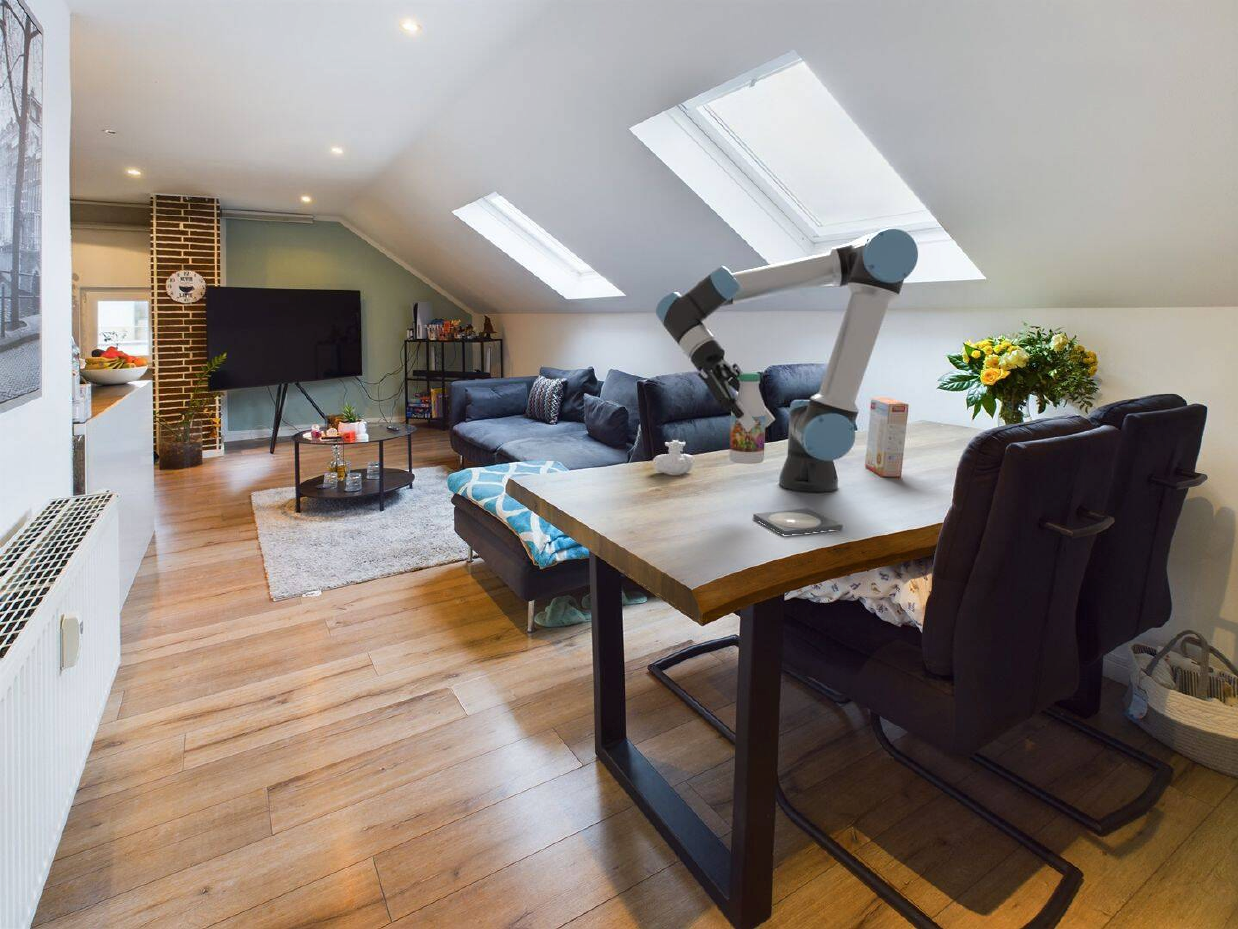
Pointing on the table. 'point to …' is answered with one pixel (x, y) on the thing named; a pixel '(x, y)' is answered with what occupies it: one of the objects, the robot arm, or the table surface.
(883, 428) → the cracker box
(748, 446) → the milk bottle
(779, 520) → the slate board
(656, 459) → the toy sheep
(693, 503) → the table surface
